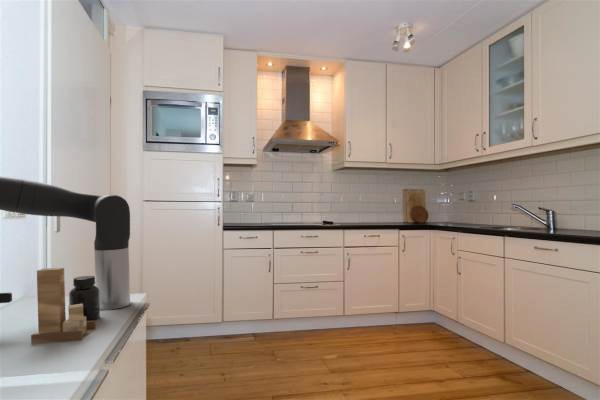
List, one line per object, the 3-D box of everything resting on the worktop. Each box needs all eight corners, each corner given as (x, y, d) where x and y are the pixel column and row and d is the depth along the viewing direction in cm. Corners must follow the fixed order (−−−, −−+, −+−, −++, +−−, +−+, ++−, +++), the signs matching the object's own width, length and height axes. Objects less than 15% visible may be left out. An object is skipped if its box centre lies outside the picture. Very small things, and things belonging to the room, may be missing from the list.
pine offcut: (71, 332, 88) (71, 317, 88) (86, 331, 88) (86, 316, 88) (63, 338, 84) (62, 322, 84) (78, 337, 84) (78, 321, 84)
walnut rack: (51, 336, 90) (50, 323, 90) (96, 333, 91) (95, 320, 91) (31, 349, 82) (30, 335, 82) (81, 345, 83) (80, 331, 83)
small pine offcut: (68, 318, 87) (68, 305, 87) (82, 316, 89) (82, 303, 89) (68, 322, 84) (68, 308, 84) (83, 319, 86) (83, 306, 86)
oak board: (44, 335, 87) (42, 268, 87) (66, 333, 88) (64, 267, 88) (38, 338, 84) (36, 270, 85) (60, 337, 85) (58, 269, 85)
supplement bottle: (65, 330, 94) (64, 281, 94) (74, 321, 101) (72, 276, 101) (96, 326, 96) (95, 278, 96) (103, 318, 102) (101, 273, 102)
